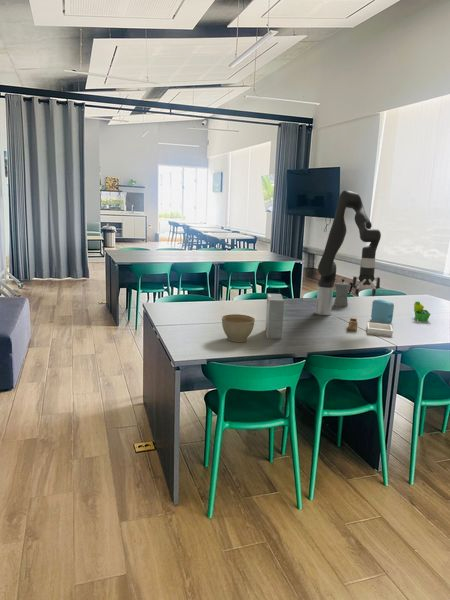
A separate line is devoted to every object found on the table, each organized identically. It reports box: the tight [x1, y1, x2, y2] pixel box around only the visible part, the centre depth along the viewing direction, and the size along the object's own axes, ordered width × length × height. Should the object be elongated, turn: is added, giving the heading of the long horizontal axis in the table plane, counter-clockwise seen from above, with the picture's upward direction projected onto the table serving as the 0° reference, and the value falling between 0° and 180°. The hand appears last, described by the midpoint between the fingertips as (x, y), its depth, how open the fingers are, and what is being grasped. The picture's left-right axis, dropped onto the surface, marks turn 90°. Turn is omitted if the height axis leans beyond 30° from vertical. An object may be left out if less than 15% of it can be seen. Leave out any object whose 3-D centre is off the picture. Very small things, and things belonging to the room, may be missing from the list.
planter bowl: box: [221, 313, 256, 343], centre depth 224 cm, size 16×16×11 cm
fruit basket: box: [413, 300, 431, 323], centre depth 277 cm, size 11×9×11 cm
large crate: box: [366, 321, 394, 337], centre depth 247 cm, size 13×14×3 cm
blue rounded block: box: [370, 299, 395, 324], centre depth 270 cm, size 12×4×12 cm, turn 32°
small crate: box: [347, 317, 359, 332], centre depth 251 cm, size 5×8×5 cm, turn 164°
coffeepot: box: [333, 278, 353, 308], centre depth 308 cm, size 15×9×18 cm, turn 115°
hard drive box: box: [265, 293, 285, 340], centre depth 234 cm, size 16×8×20 cm, turn 178°
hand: (364, 295), depth 250 cm, fingers open, 8 cm apart
